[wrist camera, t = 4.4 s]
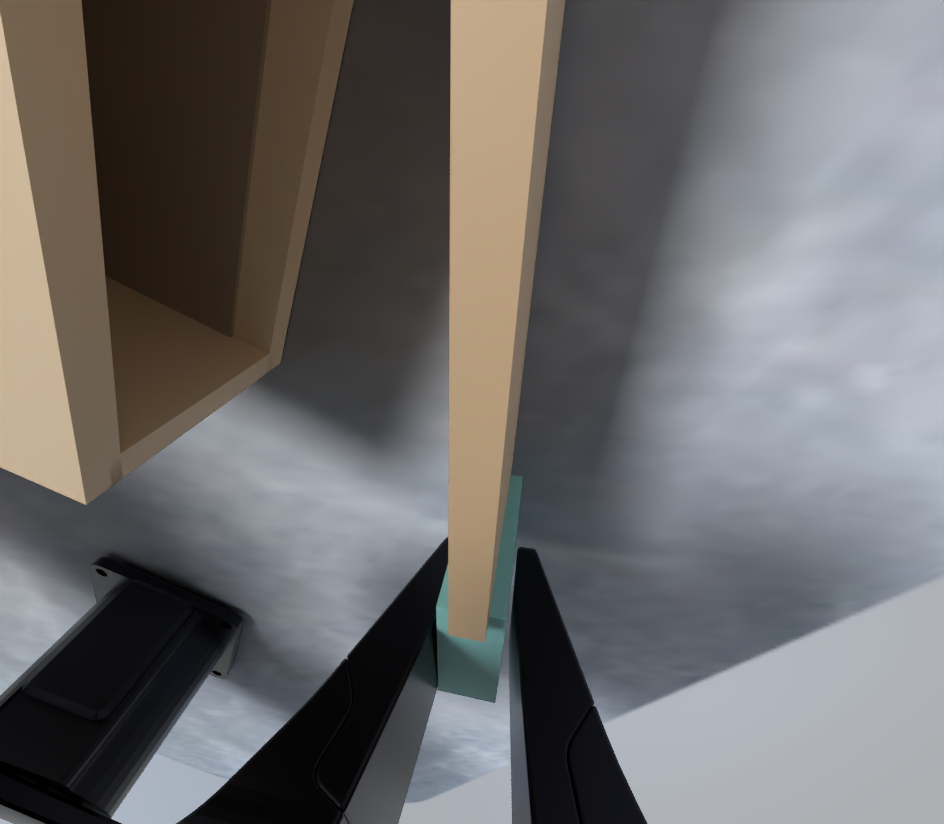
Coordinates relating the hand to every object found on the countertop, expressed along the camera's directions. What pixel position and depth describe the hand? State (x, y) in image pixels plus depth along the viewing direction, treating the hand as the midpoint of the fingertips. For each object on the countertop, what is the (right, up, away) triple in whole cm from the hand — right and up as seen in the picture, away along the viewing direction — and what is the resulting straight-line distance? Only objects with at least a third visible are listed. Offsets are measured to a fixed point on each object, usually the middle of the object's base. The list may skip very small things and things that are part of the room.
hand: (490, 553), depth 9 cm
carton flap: (0, +6, -2) cm, 7 cm away
